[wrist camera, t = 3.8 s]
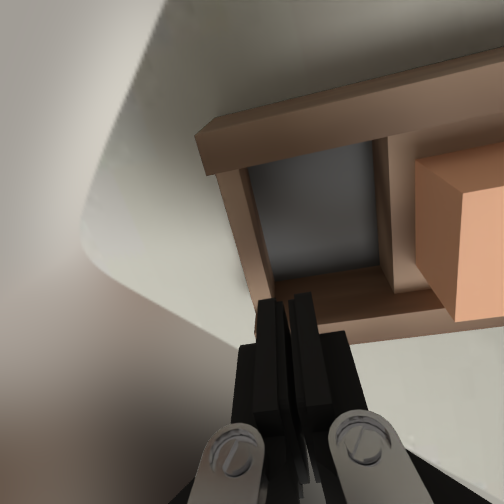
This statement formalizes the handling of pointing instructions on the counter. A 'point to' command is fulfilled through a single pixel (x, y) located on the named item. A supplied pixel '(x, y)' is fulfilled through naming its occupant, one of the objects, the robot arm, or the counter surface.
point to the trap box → (351, 191)
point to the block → (462, 229)
